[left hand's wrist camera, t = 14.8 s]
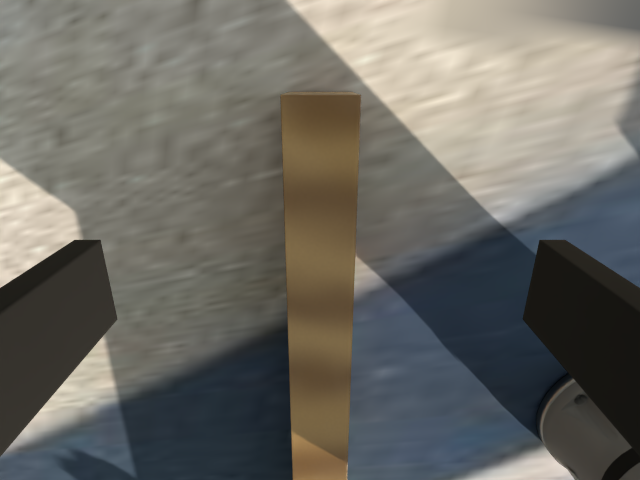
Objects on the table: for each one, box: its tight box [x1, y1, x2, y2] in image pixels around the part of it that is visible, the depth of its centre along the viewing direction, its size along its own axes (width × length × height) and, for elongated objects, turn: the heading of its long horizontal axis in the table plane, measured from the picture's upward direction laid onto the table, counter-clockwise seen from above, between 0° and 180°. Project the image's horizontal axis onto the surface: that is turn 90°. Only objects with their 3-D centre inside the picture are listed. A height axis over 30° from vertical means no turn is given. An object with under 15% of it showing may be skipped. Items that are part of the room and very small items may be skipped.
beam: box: [281, 92, 361, 480], centre depth 43 cm, size 67×5×8 cm, turn 0°
